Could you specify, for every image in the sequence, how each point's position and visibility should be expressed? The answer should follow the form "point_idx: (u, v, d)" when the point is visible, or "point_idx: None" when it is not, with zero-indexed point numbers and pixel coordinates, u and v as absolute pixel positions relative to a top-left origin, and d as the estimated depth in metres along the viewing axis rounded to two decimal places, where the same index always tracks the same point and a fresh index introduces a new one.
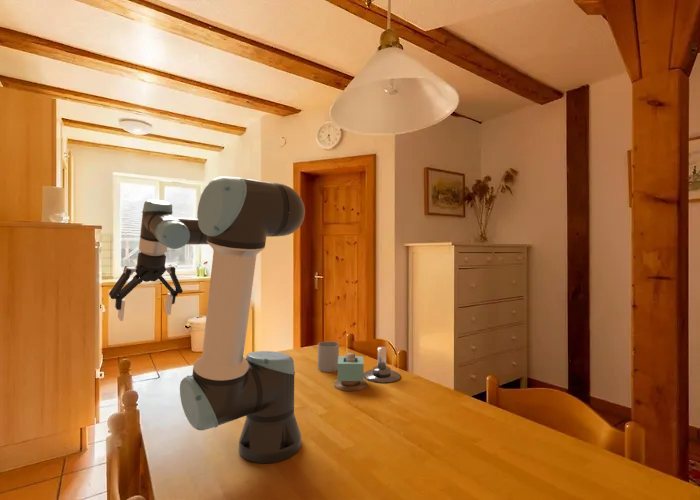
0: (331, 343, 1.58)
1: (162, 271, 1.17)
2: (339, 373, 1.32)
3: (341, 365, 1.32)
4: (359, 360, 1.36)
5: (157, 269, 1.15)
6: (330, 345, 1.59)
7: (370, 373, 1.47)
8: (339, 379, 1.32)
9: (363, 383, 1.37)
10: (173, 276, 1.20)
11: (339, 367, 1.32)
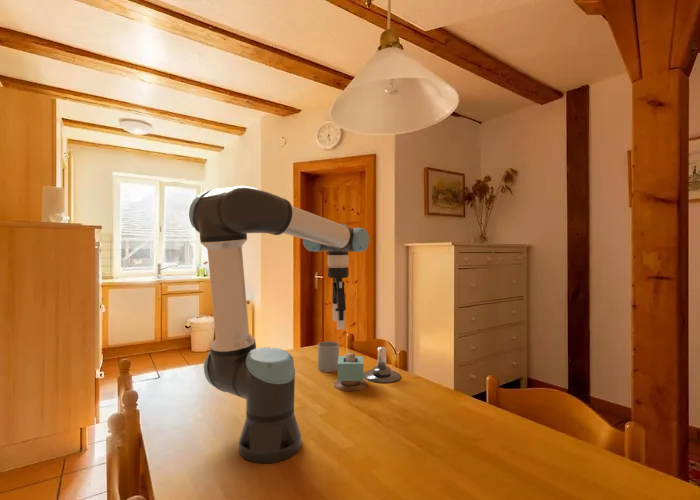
0: (331, 343, 1.58)
1: (336, 284, 1.35)
2: (339, 373, 1.32)
3: (341, 365, 1.32)
4: (359, 360, 1.36)
5: (335, 282, 1.36)
6: (330, 345, 1.59)
7: (370, 373, 1.47)
8: (339, 379, 1.32)
9: (363, 383, 1.37)
10: (337, 290, 1.32)
11: (339, 367, 1.32)
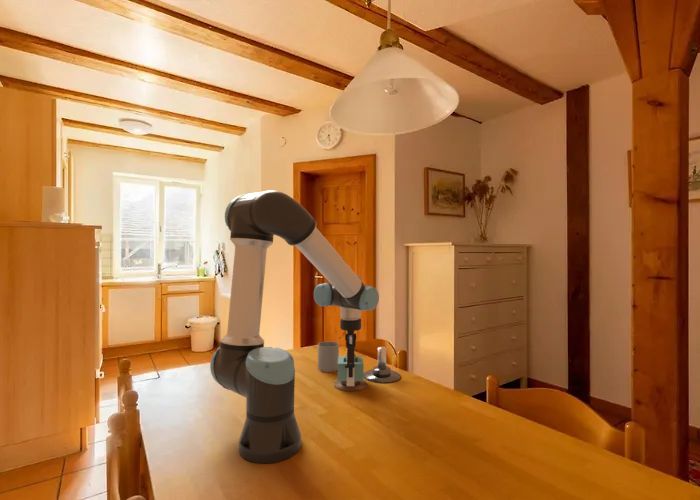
0: (331, 343, 1.58)
1: (347, 337, 1.34)
2: (339, 373, 1.32)
3: (341, 365, 1.32)
4: (359, 360, 1.36)
5: None
6: (330, 345, 1.59)
7: (370, 373, 1.47)
8: (339, 379, 1.32)
9: (363, 383, 1.37)
10: (347, 346, 1.31)
11: (339, 367, 1.32)
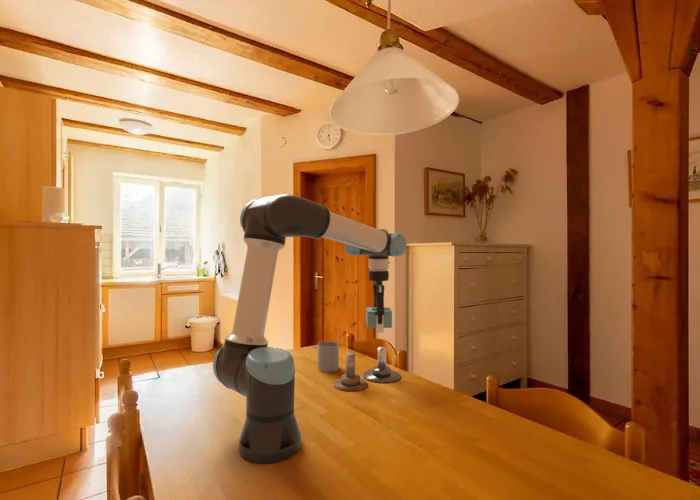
0: (331, 343, 1.58)
1: (376, 287, 1.41)
2: (369, 320, 1.40)
3: (371, 313, 1.40)
4: (387, 309, 1.44)
5: (376, 283, 1.43)
6: (330, 345, 1.59)
7: (370, 373, 1.47)
8: (369, 326, 1.40)
9: (363, 383, 1.37)
10: (376, 295, 1.38)
11: (369, 315, 1.40)
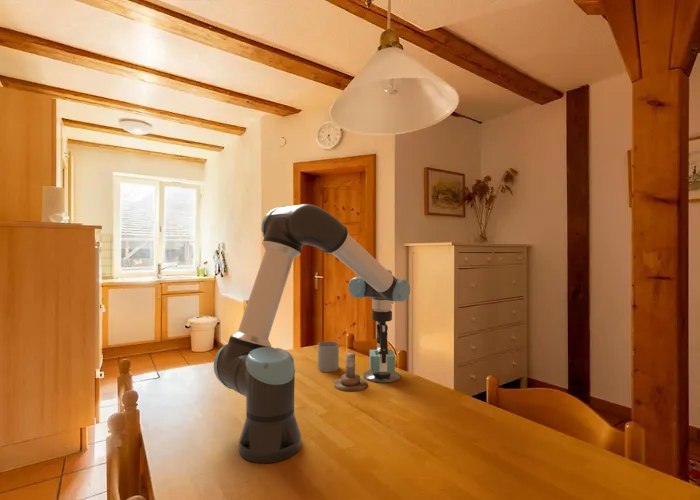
0: (331, 343, 1.58)
1: (379, 327, 1.42)
2: (372, 365, 1.41)
3: (374, 357, 1.41)
4: (390, 353, 1.45)
5: (379, 324, 1.44)
6: (330, 345, 1.59)
7: (370, 373, 1.47)
8: (372, 371, 1.41)
9: (363, 383, 1.37)
10: (380, 334, 1.39)
11: (372, 359, 1.41)
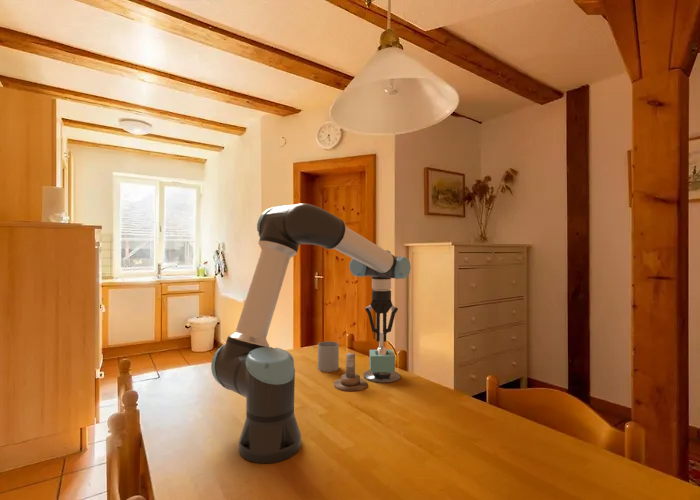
0: (331, 343, 1.58)
1: (389, 305, 1.48)
2: (372, 365, 1.41)
3: (374, 357, 1.41)
4: (390, 353, 1.45)
5: (387, 301, 1.48)
6: (330, 345, 1.59)
7: (370, 373, 1.47)
8: (372, 370, 1.41)
9: (363, 383, 1.37)
10: (392, 314, 1.48)
11: (372, 359, 1.41)
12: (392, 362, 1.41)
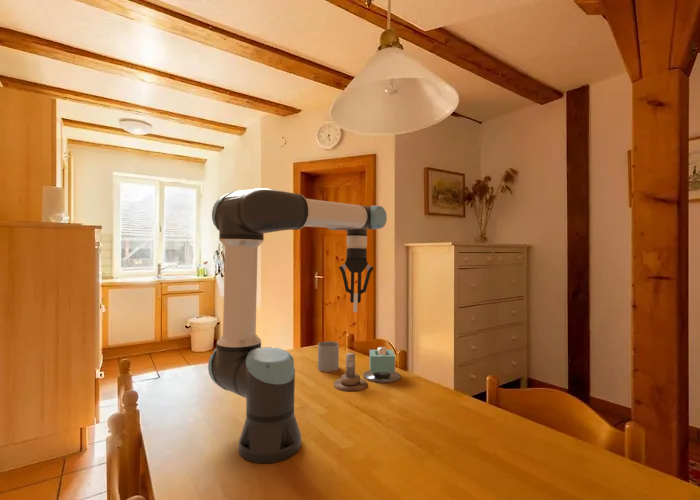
0: (331, 343, 1.58)
1: (364, 264, 1.40)
2: (372, 365, 1.41)
3: (374, 357, 1.41)
4: (390, 353, 1.45)
5: (362, 260, 1.40)
6: (330, 345, 1.59)
7: (370, 373, 1.47)
8: (372, 371, 1.41)
9: (363, 383, 1.37)
10: (368, 274, 1.40)
11: (372, 359, 1.41)
12: (392, 362, 1.41)
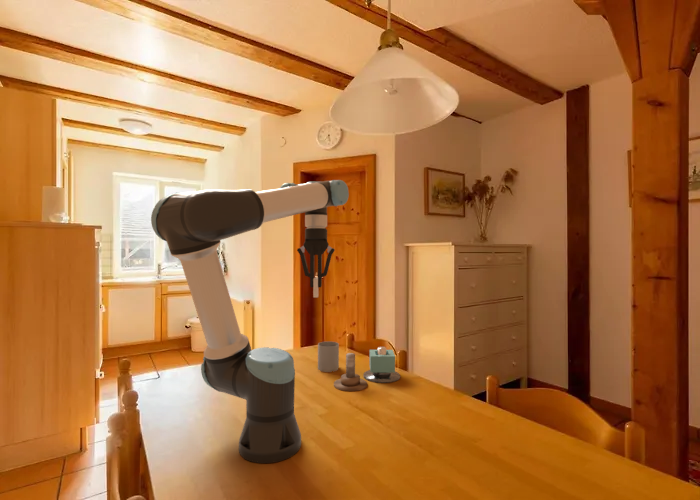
0: (331, 343, 1.58)
1: (324, 245, 1.29)
2: (372, 365, 1.41)
3: (374, 357, 1.41)
4: (390, 353, 1.45)
5: (322, 241, 1.29)
6: (330, 345, 1.59)
7: (370, 373, 1.47)
8: (372, 371, 1.41)
9: (363, 383, 1.37)
10: (328, 256, 1.29)
11: (372, 359, 1.41)
12: (392, 362, 1.41)
